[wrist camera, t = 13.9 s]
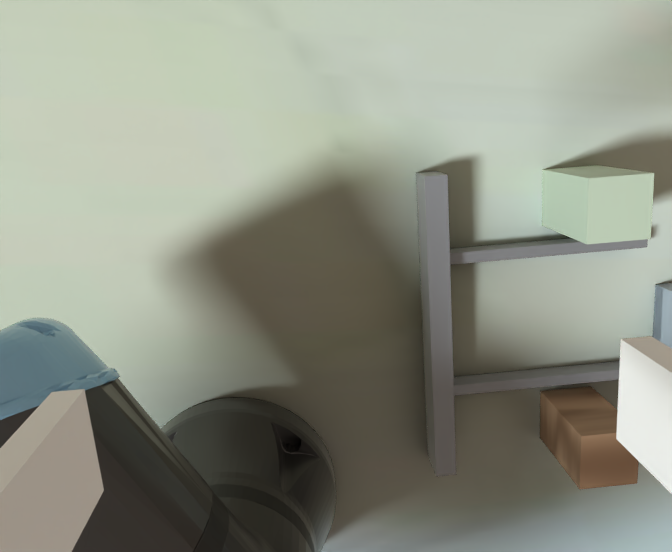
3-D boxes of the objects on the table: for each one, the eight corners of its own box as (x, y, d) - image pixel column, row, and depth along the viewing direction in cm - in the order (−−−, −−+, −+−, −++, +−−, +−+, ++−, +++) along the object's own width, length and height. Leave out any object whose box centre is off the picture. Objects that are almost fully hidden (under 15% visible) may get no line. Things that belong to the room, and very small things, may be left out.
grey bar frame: (626, 434, 48) (647, 454, 45) (427, 454, 48) (436, 476, 45) (640, 154, 43) (665, 156, 40) (415, 172, 42) (424, 176, 39)
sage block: (596, 220, 44) (650, 238, 37) (541, 225, 44) (586, 244, 37) (598, 165, 43) (654, 173, 36) (542, 169, 43) (588, 178, 36)
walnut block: (589, 432, 48) (637, 483, 41) (539, 437, 48) (579, 489, 41) (590, 386, 47) (640, 430, 40) (540, 391, 47) (581, 436, 40)
